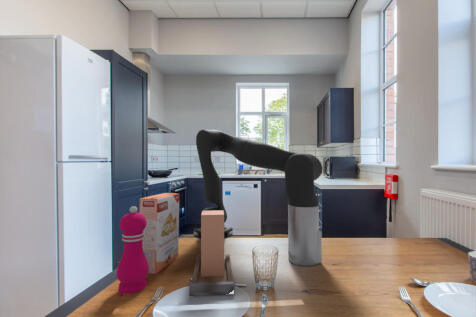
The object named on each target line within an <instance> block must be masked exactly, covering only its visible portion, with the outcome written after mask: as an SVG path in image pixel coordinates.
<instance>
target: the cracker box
mask: <svg viewBox="0 0 476 317" xmlns="http://www.w3.org/2000/svg"><path fill="white" fill-rule="evenodd" d="M138 213H141V214H143V215H144V216H145V218H146V221H147V225H146V227H145V229H144V230H143V232H144V239H143V241H142V247H143V252H144V255H145V257H146V259H147V261H148V265H149V273H148V275H149V274H152V275H157V274H158V273H160V272H161V271H162V270H163V269H164V268H166V266H168V265H170V264H171V263H172V262H173V261H174V260H175V259H176V258H178V257H179V242H180V241H179V240H180V239H179V236H180V235H179V234H180V233H179V232H180V228H179V227H180V222H179V221H180V193H175V192H162V193H159V194H155V195H149V196H145V197H141V198H139V212H138Z"/></svg>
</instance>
